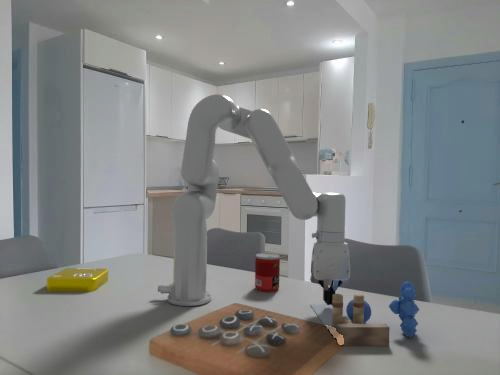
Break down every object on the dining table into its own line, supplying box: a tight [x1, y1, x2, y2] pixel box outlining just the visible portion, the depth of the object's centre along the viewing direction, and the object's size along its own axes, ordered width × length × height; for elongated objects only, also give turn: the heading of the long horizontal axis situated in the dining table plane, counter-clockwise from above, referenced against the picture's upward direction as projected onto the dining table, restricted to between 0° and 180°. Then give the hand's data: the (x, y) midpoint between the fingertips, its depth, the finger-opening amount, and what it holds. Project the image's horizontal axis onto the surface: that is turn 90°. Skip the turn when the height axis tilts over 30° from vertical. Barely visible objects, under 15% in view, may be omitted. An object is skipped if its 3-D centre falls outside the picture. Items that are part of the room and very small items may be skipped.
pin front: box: [342, 317, 353, 324], centre depth 89 cm, size 2×2×8 cm
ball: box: [345, 298, 372, 324], centre depth 95 cm, size 6×6×6 cm
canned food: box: [254, 252, 281, 293], centre depth 125 cm, size 8×8×11 cm
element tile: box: [46, 267, 109, 293], centre depth 124 cm, size 15×15×5 cm
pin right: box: [353, 293, 365, 324], centre depth 90 cm, size 2×2×8 cm
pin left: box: [332, 293, 344, 328], centre depth 89 cm, size 2×2×8 cm
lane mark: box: [309, 303, 353, 327], centre depth 97 cm, size 9×24×1 cm, turn 4°
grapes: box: [388, 280, 420, 338], centre depth 89 cm, size 12×7×12 cm, turn 163°
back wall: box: [336, 323, 390, 347], centre depth 83 cm, size 11×2×4 cm, turn 94°
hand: (329, 303), depth 106 cm, fingers closed
